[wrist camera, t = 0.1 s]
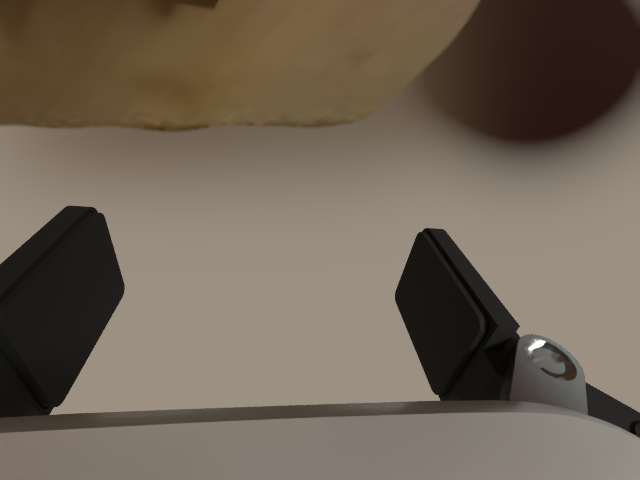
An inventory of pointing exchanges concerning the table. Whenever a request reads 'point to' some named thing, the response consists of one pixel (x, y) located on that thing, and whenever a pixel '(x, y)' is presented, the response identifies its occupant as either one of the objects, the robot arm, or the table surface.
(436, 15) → the table surface
